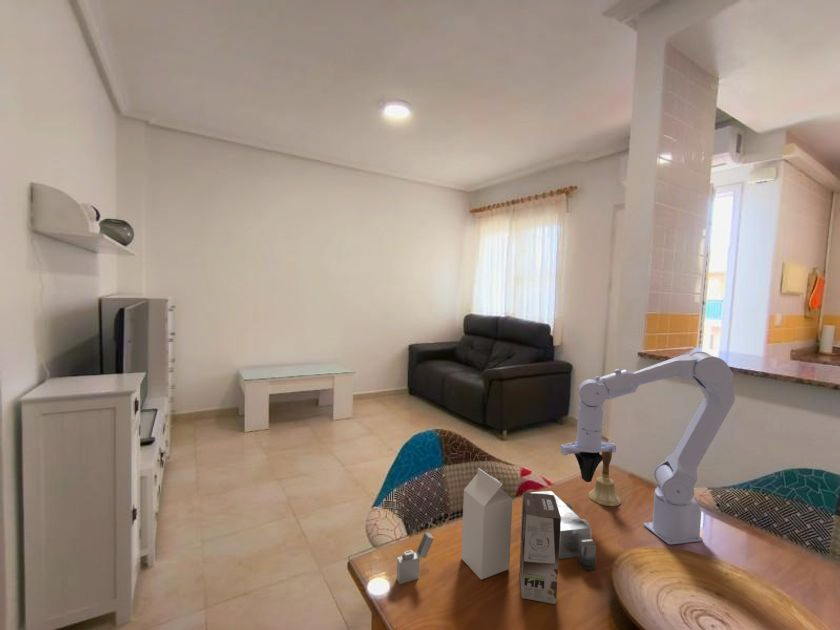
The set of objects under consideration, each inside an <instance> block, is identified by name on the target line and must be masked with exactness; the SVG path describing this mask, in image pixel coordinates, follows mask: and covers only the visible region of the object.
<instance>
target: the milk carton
mask: <svg viewBox="0 0 840 630" xmlns="http://www.w3.org/2000/svg"><path fill="white" fill-rule="evenodd" d="M502 486H503V483H502V481H499V480H498V479H497V478H496V477H493V476H491V475H490V474H488V472H487V473H486V471H484V470H482V469H481V468H480V467H478V468H477V473H476V475H475V476H474V477H473V478H472V479H471V480H470V482H469V483H468V484H467V485H466V486H465V488H464V489H463V505H462V506H463V507H462V534H461V558H460V559H462V561H463V562H464V563H465V564H466V565H467V566H468V567H469V569H470V570H471V571H472V572H473V573H474V574H475V575H476V576H477V578H479V580H485V579H487V578H489V577H492V576H495V575H497V574H501V573H503V572H506V571H508V570H510V560H511V559H510V558H511V539H512V536H511V535H512V519H513V517H512V516H513V498H512V497H511V496H510V495H509V494H508V493H506V491H504V490H503V489H502V488H501V487H502Z"/></svg>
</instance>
